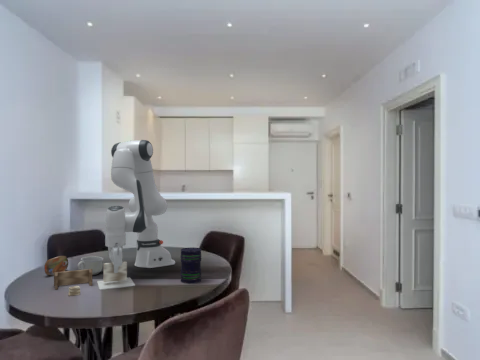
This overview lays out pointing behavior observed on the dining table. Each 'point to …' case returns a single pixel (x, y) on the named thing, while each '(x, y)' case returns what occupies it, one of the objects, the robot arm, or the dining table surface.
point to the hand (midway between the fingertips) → (115, 271)
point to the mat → (115, 284)
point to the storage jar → (190, 265)
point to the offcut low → (73, 294)
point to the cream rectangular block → (111, 276)
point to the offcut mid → (74, 292)
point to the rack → (72, 277)
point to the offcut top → (74, 288)
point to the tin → (56, 265)
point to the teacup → (91, 264)
